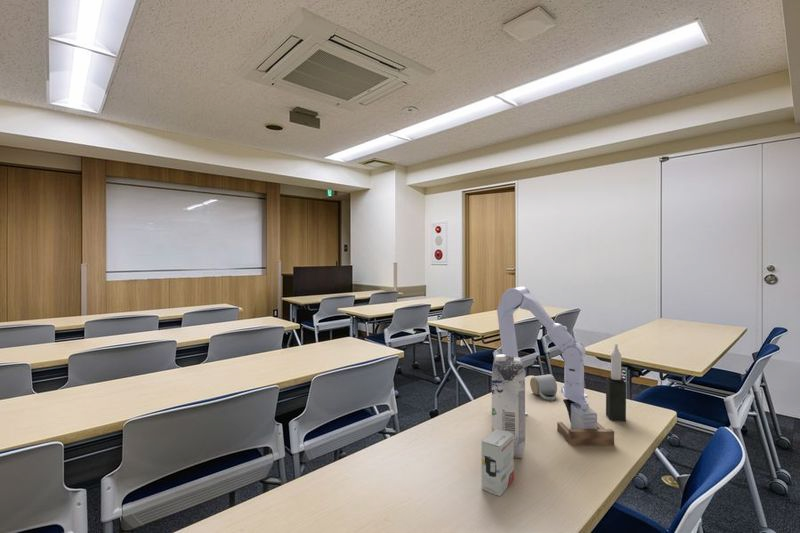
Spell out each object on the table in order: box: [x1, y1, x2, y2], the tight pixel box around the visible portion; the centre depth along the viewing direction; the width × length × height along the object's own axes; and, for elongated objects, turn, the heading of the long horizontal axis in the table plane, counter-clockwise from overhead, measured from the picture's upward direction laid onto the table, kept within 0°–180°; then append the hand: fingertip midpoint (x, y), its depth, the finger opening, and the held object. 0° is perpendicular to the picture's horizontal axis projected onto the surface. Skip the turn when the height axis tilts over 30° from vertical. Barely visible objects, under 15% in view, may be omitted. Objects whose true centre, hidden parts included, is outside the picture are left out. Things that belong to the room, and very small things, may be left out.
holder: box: [556, 421, 615, 446], centre depth 113 cm, size 12×10×4 cm
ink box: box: [481, 429, 515, 497], centre depth 90 cm, size 9×5×12 cm, turn 141°
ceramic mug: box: [529, 373, 558, 402], centre depth 146 cm, size 11×8×8 cm
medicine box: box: [570, 403, 598, 429], centre depth 113 cm, size 8×4×9 cm, turn 0°
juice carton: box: [491, 353, 526, 459], centre depth 106 cm, size 9×10×27 cm
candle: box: [605, 343, 627, 422], centre depth 125 cm, size 5×5×25 cm
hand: (574, 422), depth 120 cm, fingers closed
